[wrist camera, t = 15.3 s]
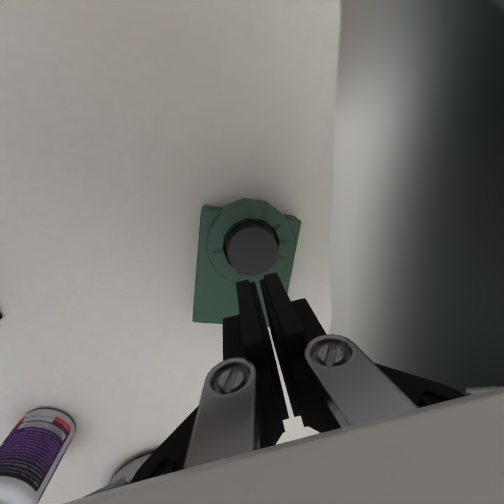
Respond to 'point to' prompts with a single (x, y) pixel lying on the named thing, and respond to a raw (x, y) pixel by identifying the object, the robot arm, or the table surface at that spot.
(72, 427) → the pill bottle
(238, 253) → the button
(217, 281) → the button box
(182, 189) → the table surface
